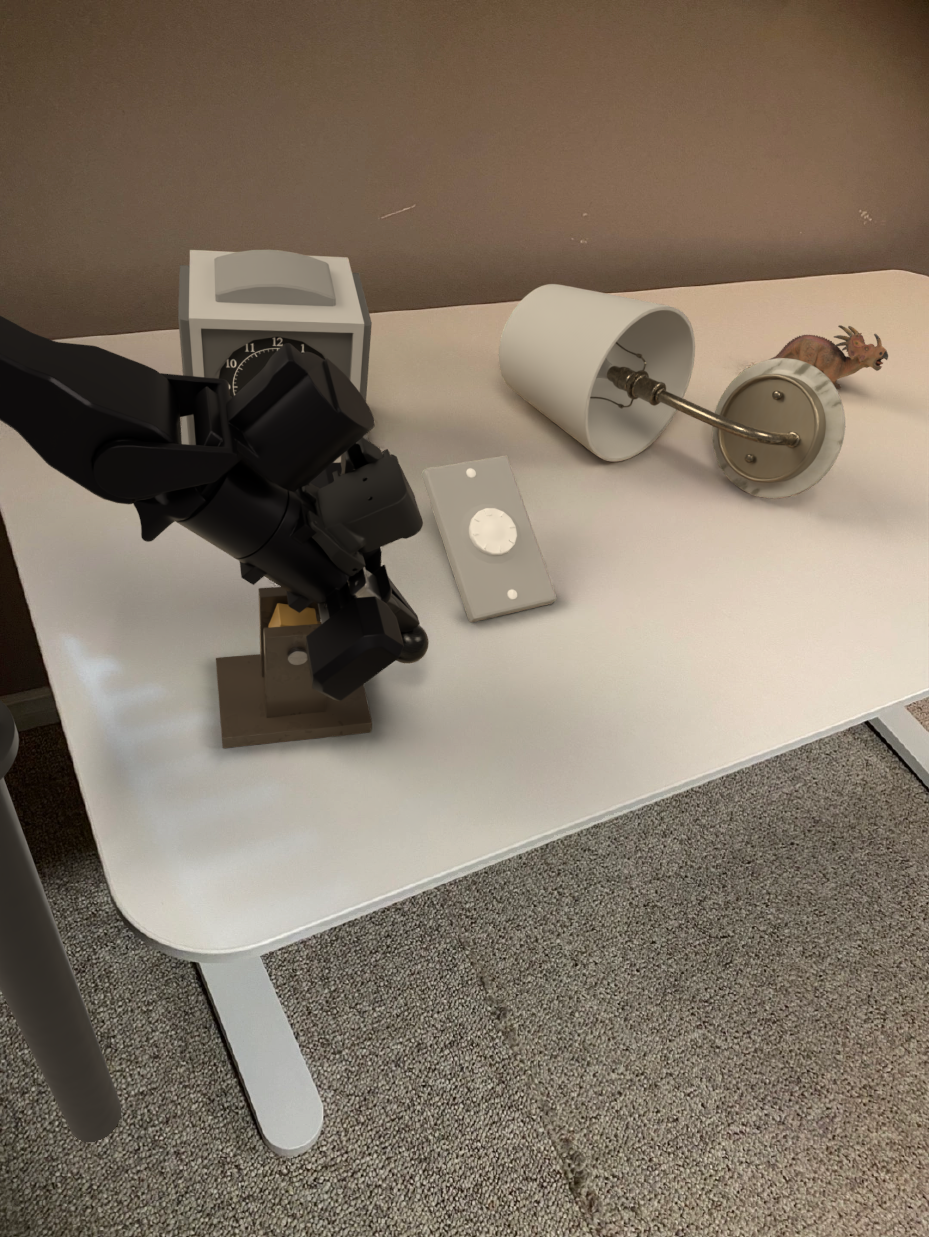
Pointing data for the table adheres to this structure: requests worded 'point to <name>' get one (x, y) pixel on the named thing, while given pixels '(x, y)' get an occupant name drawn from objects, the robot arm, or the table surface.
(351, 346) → the alarm clock
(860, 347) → the dinosaur figurine
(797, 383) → the light fixture
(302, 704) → the switch bracket
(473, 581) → the light switch
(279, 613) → the lever
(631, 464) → the table surface
